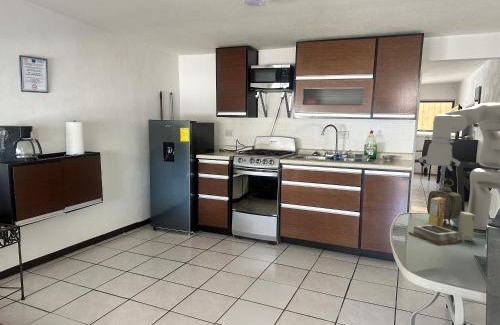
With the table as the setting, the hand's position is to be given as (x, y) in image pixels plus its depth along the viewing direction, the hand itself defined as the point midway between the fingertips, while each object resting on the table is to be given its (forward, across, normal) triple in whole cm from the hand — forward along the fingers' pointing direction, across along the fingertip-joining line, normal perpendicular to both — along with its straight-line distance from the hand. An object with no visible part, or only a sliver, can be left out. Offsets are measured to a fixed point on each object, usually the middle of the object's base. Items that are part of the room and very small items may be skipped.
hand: (436, 177), depth 160 cm
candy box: (+28, +1, -18) cm, 34 cm away
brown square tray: (+28, -2, +3) cm, 28 cm away
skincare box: (+28, -13, -7) cm, 32 cm away
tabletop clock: (+28, -1, -30) cm, 41 cm away
